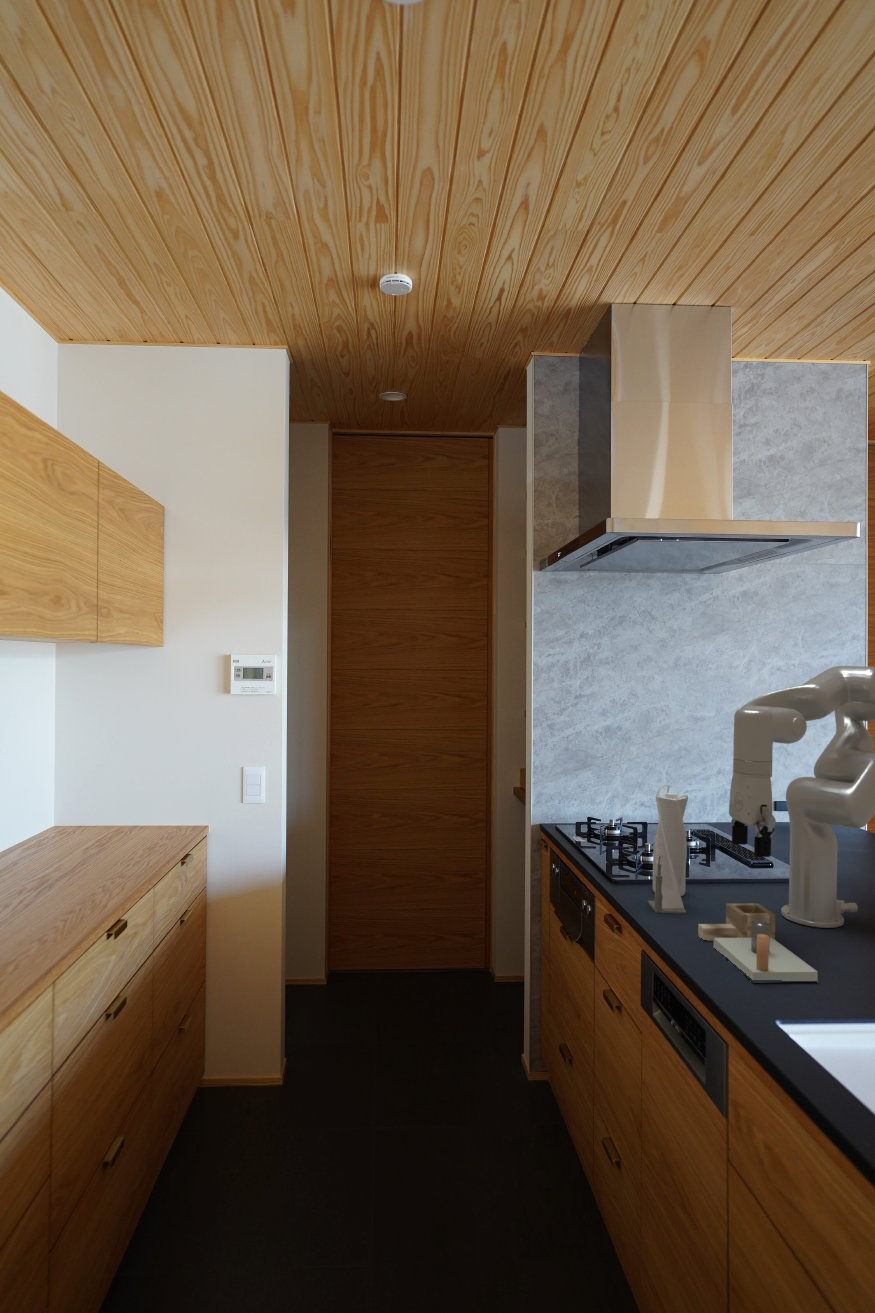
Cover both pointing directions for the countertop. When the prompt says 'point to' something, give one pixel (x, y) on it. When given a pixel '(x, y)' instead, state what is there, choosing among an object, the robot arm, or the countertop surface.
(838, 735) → the robot arm
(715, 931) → the open wooden box
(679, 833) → the skyscraper
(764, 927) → the post
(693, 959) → the countertop surface
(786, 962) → the board
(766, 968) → the dowel
